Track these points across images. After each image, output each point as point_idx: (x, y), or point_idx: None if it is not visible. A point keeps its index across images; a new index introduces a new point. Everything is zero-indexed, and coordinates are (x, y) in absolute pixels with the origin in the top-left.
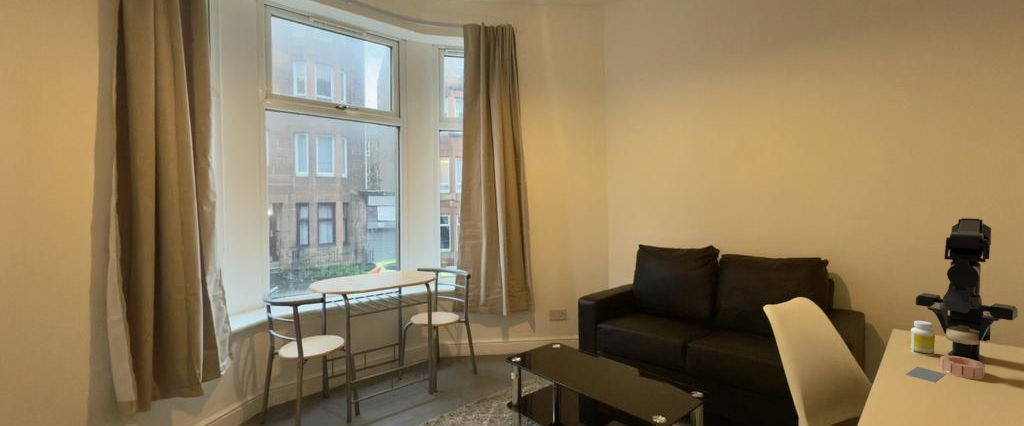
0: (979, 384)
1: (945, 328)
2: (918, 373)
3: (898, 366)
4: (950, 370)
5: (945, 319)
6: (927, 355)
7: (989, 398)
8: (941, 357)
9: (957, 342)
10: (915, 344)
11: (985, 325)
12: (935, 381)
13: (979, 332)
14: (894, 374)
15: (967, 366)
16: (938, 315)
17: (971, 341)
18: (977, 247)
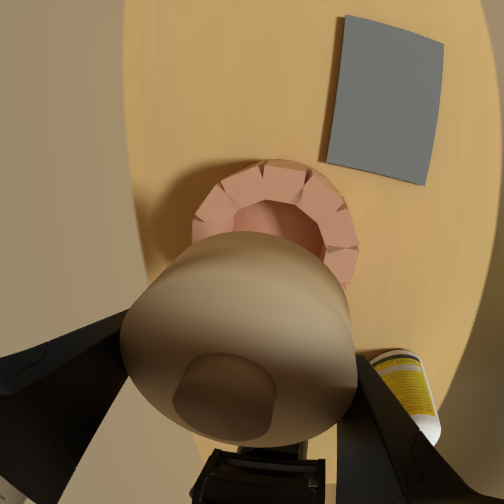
0: (215, 140)
1: (363, 382)
2: (412, 85)
3: (475, 156)
4: (312, 170)
5: (367, 473)
6: (380, 356)
7: (179, 11)
8: (353, 253)
9: (273, 235)
10: (422, 378)
11: (14, 363)
12: (345, 26)
13: (104, 340)
14: (467, 41)
15: (243, 178)
16: (448, 488)
17: (178, 257)
18: None
